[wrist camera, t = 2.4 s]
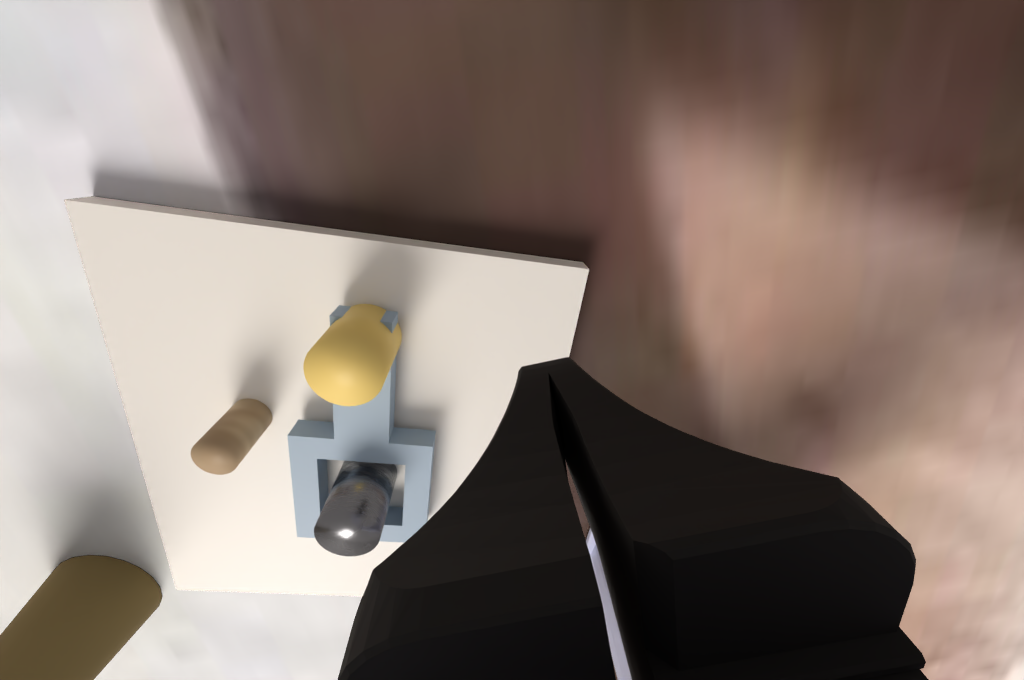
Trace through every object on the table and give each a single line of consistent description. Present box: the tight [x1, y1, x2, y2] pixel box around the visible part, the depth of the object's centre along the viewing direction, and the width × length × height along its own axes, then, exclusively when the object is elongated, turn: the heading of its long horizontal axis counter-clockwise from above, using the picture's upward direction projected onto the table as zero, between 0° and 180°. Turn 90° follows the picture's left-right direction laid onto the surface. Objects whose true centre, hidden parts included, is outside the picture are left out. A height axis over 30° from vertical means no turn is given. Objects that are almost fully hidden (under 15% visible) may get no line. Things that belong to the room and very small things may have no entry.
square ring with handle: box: [287, 304, 436, 543], centre depth 18 cm, size 13×6×3 cm, turn 172°
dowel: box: [191, 398, 272, 475], centre depth 19 cm, size 2×2×4 cm
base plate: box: [64, 196, 589, 597], centre depth 21 cm, size 20×22×1 cm
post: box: [314, 461, 397, 556], centre depth 20 cm, size 3×3×5 cm
